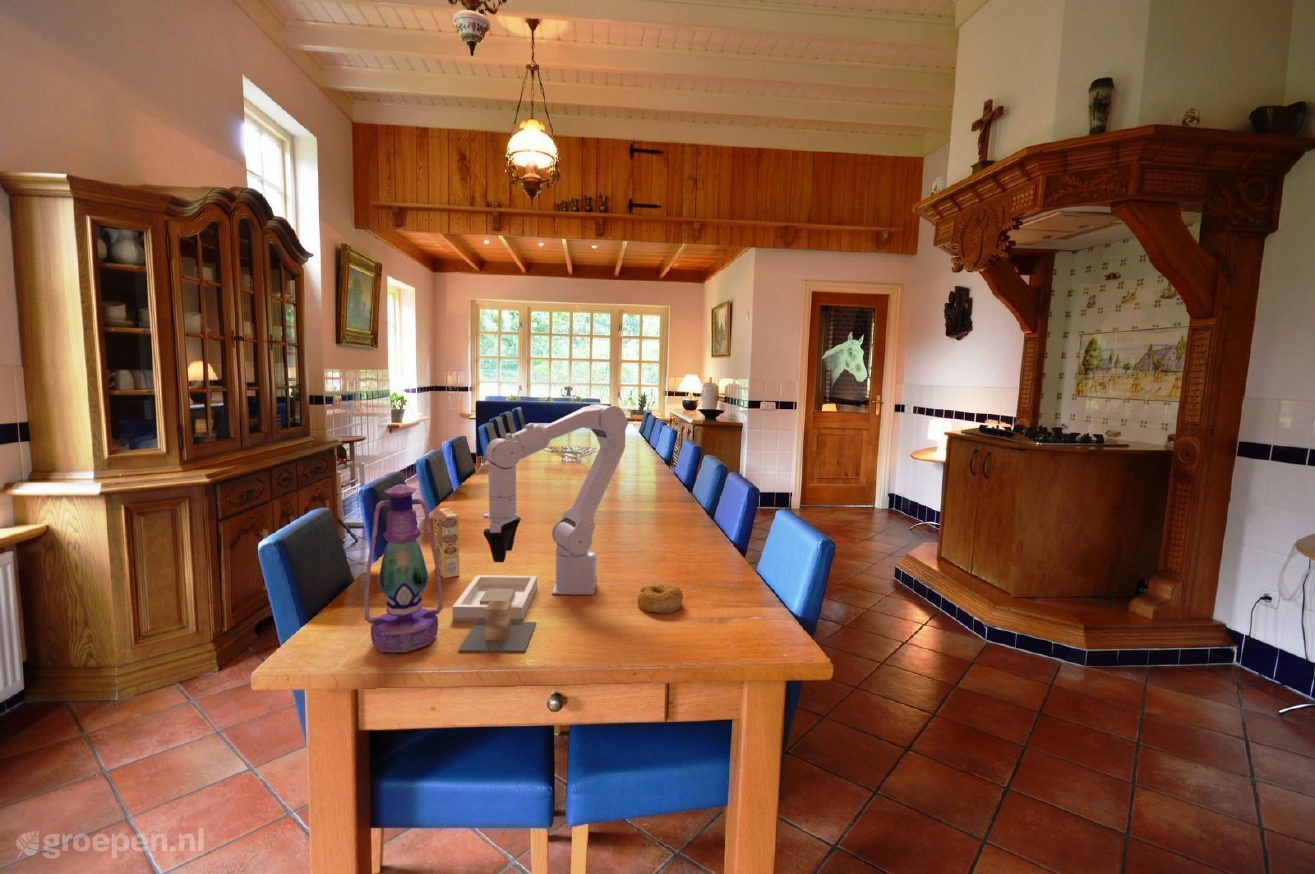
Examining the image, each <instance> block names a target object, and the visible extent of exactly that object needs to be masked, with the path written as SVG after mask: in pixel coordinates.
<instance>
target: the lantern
mask: <svg viewBox="0 0 1315 874" xmlns="http://www.w3.org/2000/svg"><path fill="white" fill-rule="evenodd" d="M417 490H418V489H417V488H415V487H412V486H409V485H407V484H404V483H403V484H401V483H399V484H397V485H396V484H395V485H394V486H392V487H390V488H388V489H385V490H384V491H383V493H385V494H387V495H388V496H389V500H381V501H380V502H377V504H376V505H375V510H374V514H373V526H372V535H371V540H370V541H371V542H370V547H369V553H368V558H367V564H366V572H365V580H364V581H365V582H364V590H363V591H364V593H363V594H364V596H363V597H364V599H363V600H364V620H365V621H366V622H367V623H368V624H371V626H370V638H371V643H372V645H373V646H374V647H375V648H377V649H378V650H379V651H380V652H381V653H403V654H404V653H409V652H412V651H414V650H418V649H421V648H424V647H426V646H429V645H430V644H431V643H432V641H433V640H434V639H435V638H436V636H437V634H438V629H439V617H438V616H437V615H439V614H440V613H441V611H442V610H443V587H442V586H443V584H442V583H443V582H442V576H441V574H440V569H439V563H438V558H437V553H436V549H435V545H434V536H433V532H432V528H431V523H430V517H429V516H430V515H429V510H428V506H427V502H426V501H425V500H424V499H422V498H413V495H414V493H415V492H416V491H417ZM413 505H421V507H422V510H423V514H424V519H425V520H424V521H425V525H426V532H427V536H428V540H429V541H428V542H429V545H430V548H431V552H432V557H433V562H434V568H435V573H436V580H437V599H438V600H437V601H438V602H437V604H438V605H437V607H436V609H427V608H423V604H422V601H423V598H422V596H421V595H422V593H423V591H424V590H425V588H426V586H427V584H428V580H429V573H428V569H427V566H426V562H425V558H424V554H423V551H422V548H421V546H420V543H419V542H418V540H417V539H418V538H419V537H420V536H421V529H419V528H418V525H417V512H416V510H415V509H413ZM382 507H383V508H385V507H390V510H389V511H387V514H386V531H384V532H383V535H382V536H383V539H385V541H386V542H387V544H386V546H385V549H384V552H383V555H382V560H381V565H380V569H379V574H378V580H377V581H378V582H377V585H378V588H379V589H380V591H381V593H382V594H383V595H384V596H385V598H386V599H387V601H386V603H385V605H386V606H387V607H386V610H385V612H386V613H383V614H381V615H380V616H376V617H371V616H370V595H369V594H370V591H369V590H370V589H369V588H370V579H371V571H372V570H371V569H372V563H373V556H374V551H375V547H376V540H377V539H376V538H377V535H378V526H379V525H378V524H379V516H380V512H381V511H380V510H381V508H382Z"/></svg>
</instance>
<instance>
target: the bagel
mask: <svg viewBox="0 0 1315 874" xmlns="http://www.w3.org/2000/svg"><path fill="white" fill-rule="evenodd" d="M683 599H684V594H683V591H682V590H681V588H680V587H679V586H677V585H675V584H672V585H667V584H662V583H661V584H658V585H656V584H655V585H647V586H643V587H642V588H641V590H640V593H639V594H638V596H637V604H638V607H639V608H640V609H641V610H643V611H645V612H648V613H658V614H670V613H674V612H677V610H679V609H680V608H681V606H682V604H683Z"/></svg>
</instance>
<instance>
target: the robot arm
mask: <svg viewBox="0 0 1315 874" xmlns="http://www.w3.org/2000/svg"><path fill="white" fill-rule="evenodd" d="M628 425H629V421H628V419H627V416H626V414H625V412H624V410H623V409H622V408H621V407H619V406H616V405H607V404H602V403H593V404H590V405H588V406H583V407H581V408H580V409H577V410H576V411H573V412H571V413H569V414H567V415H565V416H564V417H561V418H559V419H557V420H555V421H552V422H550V423H549V424H546V425H545V426H543V425H540V424H537V423H536V424H533V423H528V424H525V428H523V429H521V430H518V431H515V432H514V433H510V432H508V433H506V434H505V438H501V437H500V438H499V437H497V438H495V439H492V440H491V441H489V443H488V444H487V445H486V448H485V450H484V451H483V452H484V457H485V459H486V461H488V513H484V514H483V519H487V520H488V522H489V528H485V529H484V530H483V536H484V538H485V539H486V541H487V543H488V545H489V549H490V552H491V556H492V560H493V563H504V562H505V559H506V556H507V552H511V551H513V548H514V547H513V546H514V543H515V537H516V533H517V531H518V530H517V529H518V527H519V524H520V523H521V520H522V519H521V517H519V516H518V512H517V466H516V465H517V464H518V463H519V461H520V460H522V459H525V458H527V457H529V456H531V455H533V454H536V453H538V452H540V451H543V450H545V449H547V448H548V446H549V444H550V442H551V440H554V439H557V438H559V437H563V436H564V435H566V434H569V433H572V432H574V431H577V430H580V429H583V428H584V429H590V431H592V433H593V434H594V435H595V436H596V439H597V442H598V445H599V449H598V451H597V454H596V456H595V457H594V460H593V462H592V465H591V467H590V469H589V471H588V473H587V475H586V477H585V479H584V482H583V483H582V486H581V488H580V490H579V492H578V494H577V496H576V498H575V501H574V503H573V505H572V507H571V508H570V509H567V511H565V512H564V513H563V516H562V517H561V519H560V520H559V521H557V522H556V523H555V525H554V526H553V528H552V530H551V536H552V539H553V542H555V543H556V549H555V583H554V587H553V588H552V592H551V593H552V595H582V596H583V595H587V596H588V595H591V596H593V595H595V590H596V586H597V583H598V575H597V551H590V548H591V547H592V543H593V534H594V531H595V529H596V525H595V520H594V516H595V514H596V512H597V510H598V507H599V506H600V504H601V501H602V499H603V497H604V495H605V492H607V489H608V487H609V485H610V482H611V480H612V477H613V475H614V473H615V471H616V469H617V467H618V465H619V462H620V460H621V458H622V456H623V454H624V452H625V448H626V430H627V427H628Z"/></svg>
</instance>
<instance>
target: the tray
mask: <svg viewBox="0 0 1315 874" xmlns="http://www.w3.org/2000/svg"><path fill="white" fill-rule="evenodd" d="M537 590H538V575H497V574H496V575H491V574H489V575H487V574H486V575H485V574H484V575H483V574H481V575H478V574H477V575H475V576H474V577H473V579H472V581H471V582H470V583H469V585H468V586H467V587H466V588H465V589H464V591H463V592H462V593H461V595H460V597H459V598H458V599H457V600H456V602H454V604H453V605H452V621H453V622H476V621H484V622H485V609H486V607H487V605H488V604H489V602H490V601H511V622H524V619H525V617H526V615H527V613H528V612H527V611H528V610H529V607H530V605H531V603H532V600H533V598H534V596H535V594H536V591H537Z"/></svg>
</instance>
